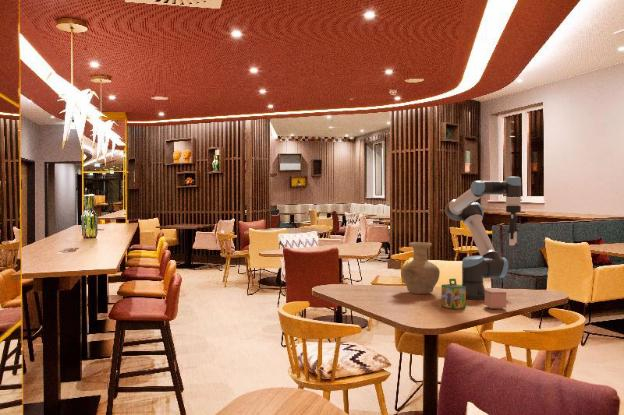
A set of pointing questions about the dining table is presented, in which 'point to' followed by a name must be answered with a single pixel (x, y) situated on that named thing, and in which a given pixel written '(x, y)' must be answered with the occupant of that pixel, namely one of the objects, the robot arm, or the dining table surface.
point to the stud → (494, 308)
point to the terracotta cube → (495, 298)
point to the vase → (420, 271)
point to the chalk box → (453, 295)
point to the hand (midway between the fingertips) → (513, 244)
